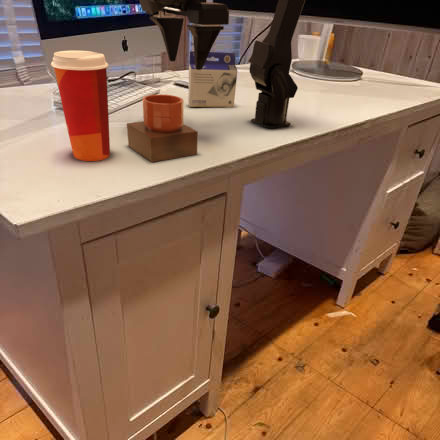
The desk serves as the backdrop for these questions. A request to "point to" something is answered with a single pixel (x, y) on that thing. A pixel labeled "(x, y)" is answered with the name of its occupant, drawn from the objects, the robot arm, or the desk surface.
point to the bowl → (163, 112)
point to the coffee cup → (84, 102)
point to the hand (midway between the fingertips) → (185, 65)
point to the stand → (162, 142)
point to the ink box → (213, 81)
